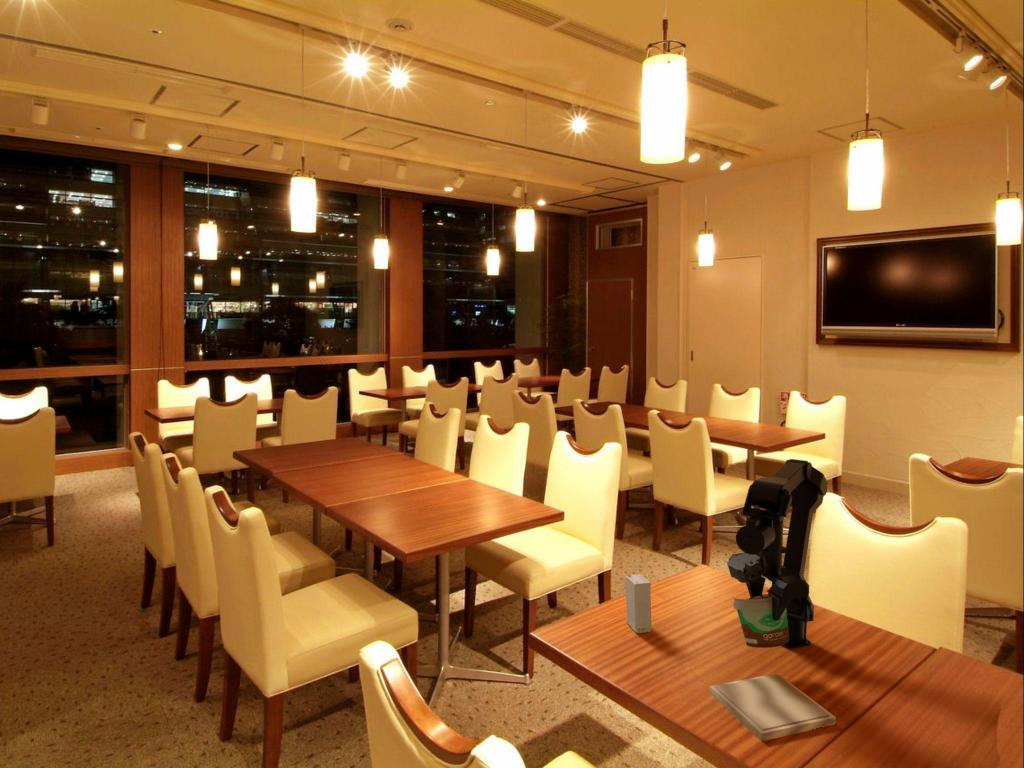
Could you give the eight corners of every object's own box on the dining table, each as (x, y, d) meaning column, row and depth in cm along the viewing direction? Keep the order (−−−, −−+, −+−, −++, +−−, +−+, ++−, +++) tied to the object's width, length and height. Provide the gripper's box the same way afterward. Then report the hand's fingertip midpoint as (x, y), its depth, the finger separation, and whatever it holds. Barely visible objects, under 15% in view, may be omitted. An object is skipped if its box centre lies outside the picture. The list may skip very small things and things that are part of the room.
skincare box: (652, 632, 159) (652, 582, 158) (634, 634, 158) (634, 584, 157) (641, 620, 165) (642, 573, 164) (624, 622, 164) (624, 574, 163)
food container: (759, 654, 135) (749, 603, 136) (740, 647, 140) (731, 598, 141) (809, 640, 138) (799, 591, 139) (789, 633, 144) (780, 586, 145)
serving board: (777, 682, 138) (777, 672, 138) (835, 727, 123) (835, 716, 122) (709, 695, 133) (709, 685, 133) (761, 744, 118) (761, 732, 118)
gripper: (708, 531, 145) (706, 600, 147) (764, 561, 128) (762, 639, 129) (751, 526, 149) (750, 594, 150) (812, 554, 131) (809, 631, 132)
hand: (765, 613), depth 140 cm, fingers closed on food container, 6 cm apart
